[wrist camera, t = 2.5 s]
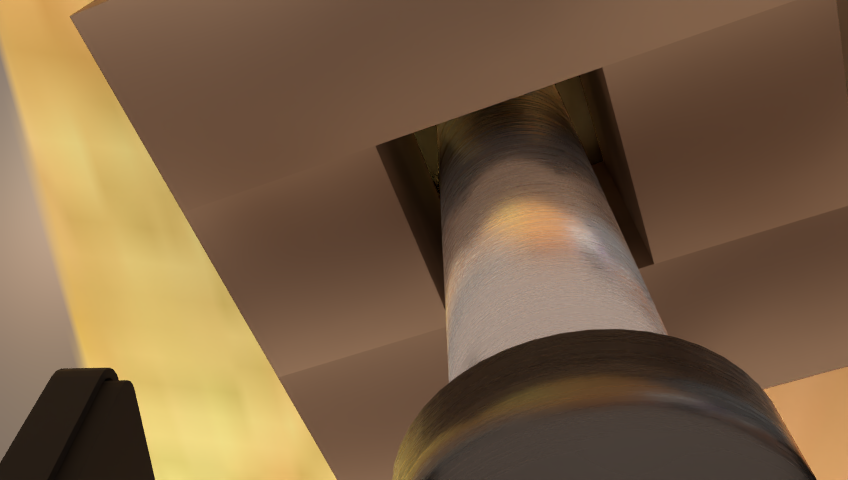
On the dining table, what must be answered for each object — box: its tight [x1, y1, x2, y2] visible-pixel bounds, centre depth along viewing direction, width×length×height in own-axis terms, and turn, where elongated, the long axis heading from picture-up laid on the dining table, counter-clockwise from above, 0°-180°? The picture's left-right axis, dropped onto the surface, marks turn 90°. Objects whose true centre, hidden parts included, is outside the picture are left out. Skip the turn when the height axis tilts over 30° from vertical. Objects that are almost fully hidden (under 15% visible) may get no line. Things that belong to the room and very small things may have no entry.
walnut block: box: [70, 0, 848, 480], centre depth 17 cm, size 12×12×5 cm
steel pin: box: [392, 84, 817, 480], centre depth 14 cm, size 4×4×14 cm
